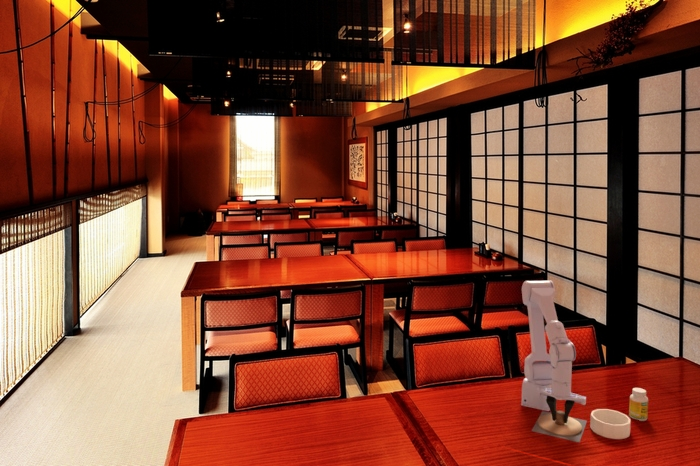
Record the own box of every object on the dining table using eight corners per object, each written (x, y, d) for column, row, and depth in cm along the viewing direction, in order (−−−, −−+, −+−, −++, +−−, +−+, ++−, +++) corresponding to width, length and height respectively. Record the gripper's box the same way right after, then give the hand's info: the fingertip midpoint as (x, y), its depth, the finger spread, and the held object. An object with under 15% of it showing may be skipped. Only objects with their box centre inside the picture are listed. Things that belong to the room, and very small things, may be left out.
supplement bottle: (634, 412, 176) (635, 385, 175) (650, 418, 172) (652, 390, 170) (625, 416, 173) (626, 389, 172) (641, 423, 169) (643, 394, 168)
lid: (534, 429, 164) (534, 416, 164) (543, 413, 175) (543, 400, 175) (578, 439, 158) (579, 426, 157) (584, 422, 169) (585, 409, 168)
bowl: (588, 435, 162) (588, 419, 161) (593, 420, 171) (593, 406, 170) (628, 444, 156) (629, 428, 155) (630, 429, 165) (631, 414, 165)
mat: (531, 432, 163) (531, 430, 163) (542, 412, 177) (542, 410, 177) (579, 443, 156) (579, 442, 156) (587, 422, 170) (587, 420, 170)
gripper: (534, 379, 165) (533, 420, 167) (584, 389, 158) (582, 431, 159) (539, 372, 171) (538, 411, 173) (587, 381, 163) (585, 422, 165)
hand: (559, 420), depth 166 cm, fingers open, 3 cm apart
